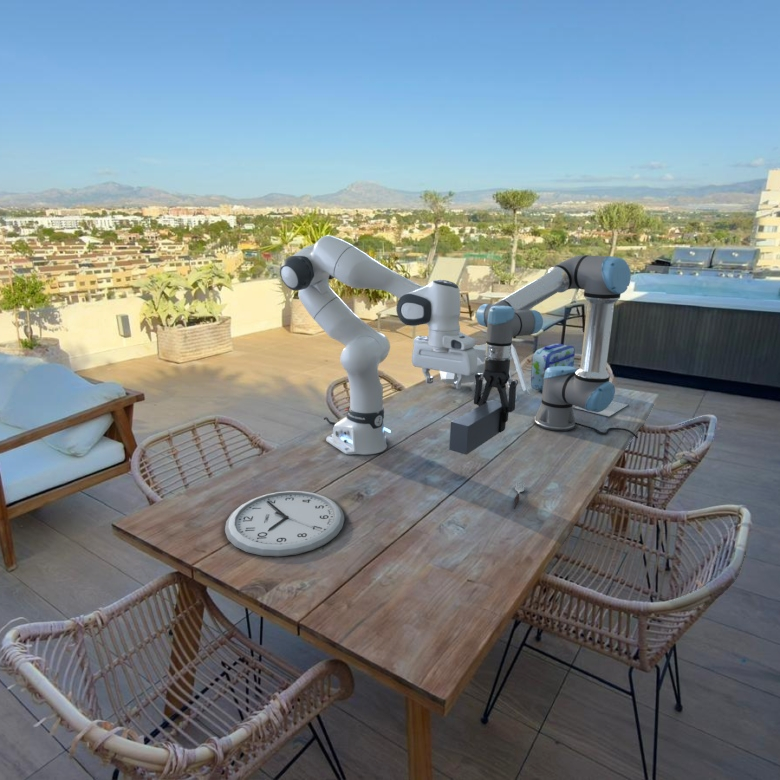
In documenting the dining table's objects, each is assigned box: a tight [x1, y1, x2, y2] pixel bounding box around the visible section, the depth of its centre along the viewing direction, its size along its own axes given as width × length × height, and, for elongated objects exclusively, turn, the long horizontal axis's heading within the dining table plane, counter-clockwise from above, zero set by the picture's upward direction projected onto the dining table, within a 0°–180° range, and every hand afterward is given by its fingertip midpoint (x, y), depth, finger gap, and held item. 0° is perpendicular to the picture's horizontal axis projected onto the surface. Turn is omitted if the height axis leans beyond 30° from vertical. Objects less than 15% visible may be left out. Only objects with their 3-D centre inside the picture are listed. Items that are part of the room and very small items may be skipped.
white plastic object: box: [438, 343, 531, 399], centre depth 245 cm, size 37×45×31 cm
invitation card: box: [573, 400, 629, 418], centre depth 226 cm, size 21×1×15 cm
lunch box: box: [530, 343, 576, 391], centre depth 249 cm, size 26×11×21 cm, turn 134°
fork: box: [513, 478, 526, 510], centre depth 148 cm, size 3×16×2 cm, turn 160°
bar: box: [448, 399, 507, 456], centre depth 157 cm, size 26×6×9 cm, turn 143°
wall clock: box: [224, 490, 345, 557], centre depth 134 cm, size 30×2×30 cm
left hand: (442, 385), depth 152 cm, fingers open, 8 cm apart
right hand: (492, 428), depth 166 cm, fingers closed on bar, 6 cm apart
